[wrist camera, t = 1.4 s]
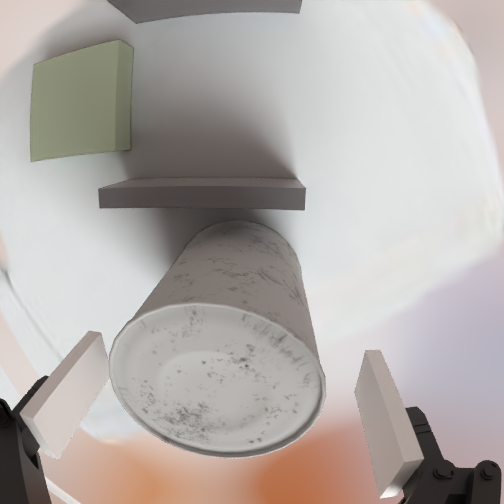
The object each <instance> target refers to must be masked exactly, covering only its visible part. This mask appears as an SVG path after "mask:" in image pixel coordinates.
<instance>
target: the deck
mask: <svg viewBox="0 0 504 504" xmlns="http://www.w3.org/2000/svg"><path fill="white" fill-rule="evenodd" d="M133 53H134V48H133V47H131V46H130V45H128V44H126V43H125V42H123V41H122V40H120V39H119V40H115V41H110V42H106V43H102V44H98V45H94V46H90V47H86V48H83V49H79V50H76V51H73V52H69V53H66V54H63V55H60V56H57V57H54V58H51V59H48V60H45V61H42V62H39V63H37V64H34V70H33V80H32V93H31V114H30V155H31V162H33V161H40V160H46V159H53V158H60V157H67V156H75V155H83V154H91V153H100V152H110V151H121V150H131V146H130V121H131V86H132V67H133Z"/></svg>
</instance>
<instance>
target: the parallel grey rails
mask: <svg viewBox="0 0 504 504" xmlns="http://www.w3.org/2000/svg"><path fill="white" fill-rule="evenodd" d="M107 1H108V2H109V3H111V4H112V5H113V6H115V7H116V8H117V9H118V10H120V11H121V12H122V13H124V14H125V15H126V16H127V17H129V18H130V19H131V20H132V21H134V22H135V23H136V24H137V23H143V22H148V21H154V20H160V19H167V18H174V17H182V16H190V15H201V14H213V13H232V12H282V13H299V12H300V8H301V4H302V0H107ZM98 192H99V206H100V208H248V209H281V210H305V193H306V188H305V187H304V186H303V185H302V184H301V182H300V181H299V180H298V179H283V178H246V177H181V178H145V179H130V180H126V181H123V182H119V183H116V184H113V185H109V186H106V187H103V188H99V189H98Z"/></svg>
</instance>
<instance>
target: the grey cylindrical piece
mask: <svg viewBox="0 0 504 504" xmlns="http://www.w3.org/2000/svg"><path fill="white" fill-rule="evenodd" d="M109 375H110V379H111V383H112V386H113V390H114V392H115V394H116V395H117V397H118V399H119V401H120V403H121V404H122V406H123V407H124V409H125V410H126V411H127V412H128V413H129V415H130V416H131V417H132V418H133V419H134V420H135V421H136V422H137V423H138V424H139V425H141V426H142V427H143V428H144V429H145V430H147V431H148V432H149V433H151V434H152V435H154V436H156V437H157V438H159V439H161V440H162V441H164V442H166V443H168V444H170V445H172V446H174V447H177V448H180V449H182V450H184V451H188V452H191V453H195V454H199V455H203V456H208V457H216V458H225V459H228V458H249V457H255V456H260V455H265V454H268V453H271V452H274V451H277V450H280V449H282V448H284V447H286V446H288V445H289V444H291V443H293V442H295V441H297V440H298V439H299V438H301V437H302V436H303V435H304V434H305V433H306V432H307V431H308V430H309V429H311V428H312V426H313V425H314V423H315V422H316V420H317V419H318V417H319V416H320V414H321V412H322V409H323V405H324V401H325V398H326V383H325V375H324V372H323V370H322V367H321V364H320V360H319V355H318V351H317V346H316V341H315V336H314V331H313V326H312V322H311V317H310V312H309V308H308V303H307V298H306V294H305V289H304V285H303V281H302V272H301V266H300V264H299V261H298V259H297V256H296V254H295V252H294V251H293V250H292V248H291V247H290V245H289V244H288V242H286V241H285V240H284V239H283V238H282V237H281V236H280V235H279V234H278V233H276V232H274V231H273V230H271V229H269V228H267V227H265V226H264V225H260V224H257V223H253V222H250V221H238V220H232V221H226V222H220V223H217V224H214V225H212V226H210V227H207V228H205V229H204V230H202V231H201V232H200V233H198V234H197V235H195V236H194V237H193V238H192V240H191V241H190V242H189V243H188V244H187V246H186V247H185V248H184V250H183V252H182V254H181V255H180V256H179V258H178V259H177V260H176V261H175V263H174V264H173V265H172V267H171V268H170V269H169V270H168V272H167V273H166V274H165V276H164V277H163V278H162V280H161V281H160V282H159V283H158V285H157V286H156V287H155V289H154V290H153V291H152V293H151V294H150V295H149V297H148V298H147V299H146V301H145V302H144V303H143V305H142V306H141V307H140V309H139V310H138V311H137V313H136V314H135V315H134V317H133V318H132V319H131V320H129V321H128V322H127V323H126V325H125V326H124V327H123V328H122V330H121V331H120V332H119V334H118V335H117V336H116V338H115V339H114V342H113V345H112V348H111V351H110V354H109Z"/></svg>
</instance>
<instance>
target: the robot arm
mask: <svg viewBox="0 0 504 504" xmlns="http://www.w3.org/2000/svg"><path fill="white" fill-rule="evenodd" d="M109 377H110V375H109V361H108V357H107V354H106V350H105V346H104V342H103V338H102V334H101V333H100V332H94V331H88V333H87V334H86V335H85V336H84V337H83V338H82V339H81V340H80V342H79V343H78V344H77V345H76V346H75V347H74V348H73V349H72V351H71V352H70V353H69V354H68V355H67V356H66V357H65V359H64V360H63V361H62V362H61V363H60V364H59V366H58V367H57V368H56V369H55V370H54V372H53V373H52V374H51V375H50V376H46V375H45V376H44V377H42V378H41V379H39V380H37V382H36V383H35V384H34V385H33V386H32V388H31V389H30V390H29V391H28V392H27V394H25V396H24V397H23V398H22V399H21V400H20V402H19V403H18V404H17V405H16V407H15V408H14V409H13V410H12V411H11V409H10V407H9V405H8V404H7V402H6V401H5V400H4V399H1V398H0V504H52V503H51V500H50V496H49V493H48V489H47V485H46V481H45V477H44V473H43V469H42V465H41V460H40V456H39V453H38V452H37V451H38V449H39V448H40V447H41V449H42V450H43V452H44V453H45V454H46V455H48V456H50V457H53V458H55V459H57V460H58V459H59V458H60V456H61V455H62V453H63V451H64V449H65V448H66V446H67V444H68V443H69V441H70V439H71V438H72V436H73V434H74V433H75V431H76V430H77V428H78V426H79V425H80V423H81V421H82V420H83V418H84V417H85V415H86V413H87V412H88V410H89V409H90V407H91V405H92V404H93V402H94V401H95V399H96V397H97V396H98V394H99V393H100V391H101V390H102V388H103V386H104V385H105V383H106V382H107V380H108V379H109ZM355 396H356V400H357V404H358V408H359V411H360V415H361V419H362V423H363V427H364V432H365V436H366V440H367V444H368V448H369V452H370V457H371V461H372V466H373V470H374V475H375V479H376V484H377V488H378V494H379V498H385V497H391V496H396V495H398V494H399V493H400V491H401V490H402V489H403V492H404V497H403V499H402V500H401V501H400V502H399V503H398V504H500V497H501V469H500V468H499V466H498V464H496V463H495V462H493V461H489V460H485V461H482V462H480V463H479V464H478V465H477V466H476V467H475V468H458V467H455V466H454V465H453V463H451V462H450V461H448V460H444V458H443V456H442V454H441V451H440V449H439V447H438V444H437V442H436V439H435V437H434V435H433V432H431V431H432V430H431V428H430V425H428V421H427V419H426V416H425V414H424V413H423V412H422V411H421V410H420V409H419V408H418V407H409V408H405V407H404V404H403V402H402V399H401V397H400V395H399V392H398V390H397V387H396V385H395V383H394V380H393V378H392V376H391V373H390V371H389V369H388V367H387V364H386V362H385V360H384V357H383V355H382V353H381V351H380V350H366V351H365V354H364V358H363V362H362V366H361V370H360V374H359V377H358V381H357V385H356V388H355Z"/></svg>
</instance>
